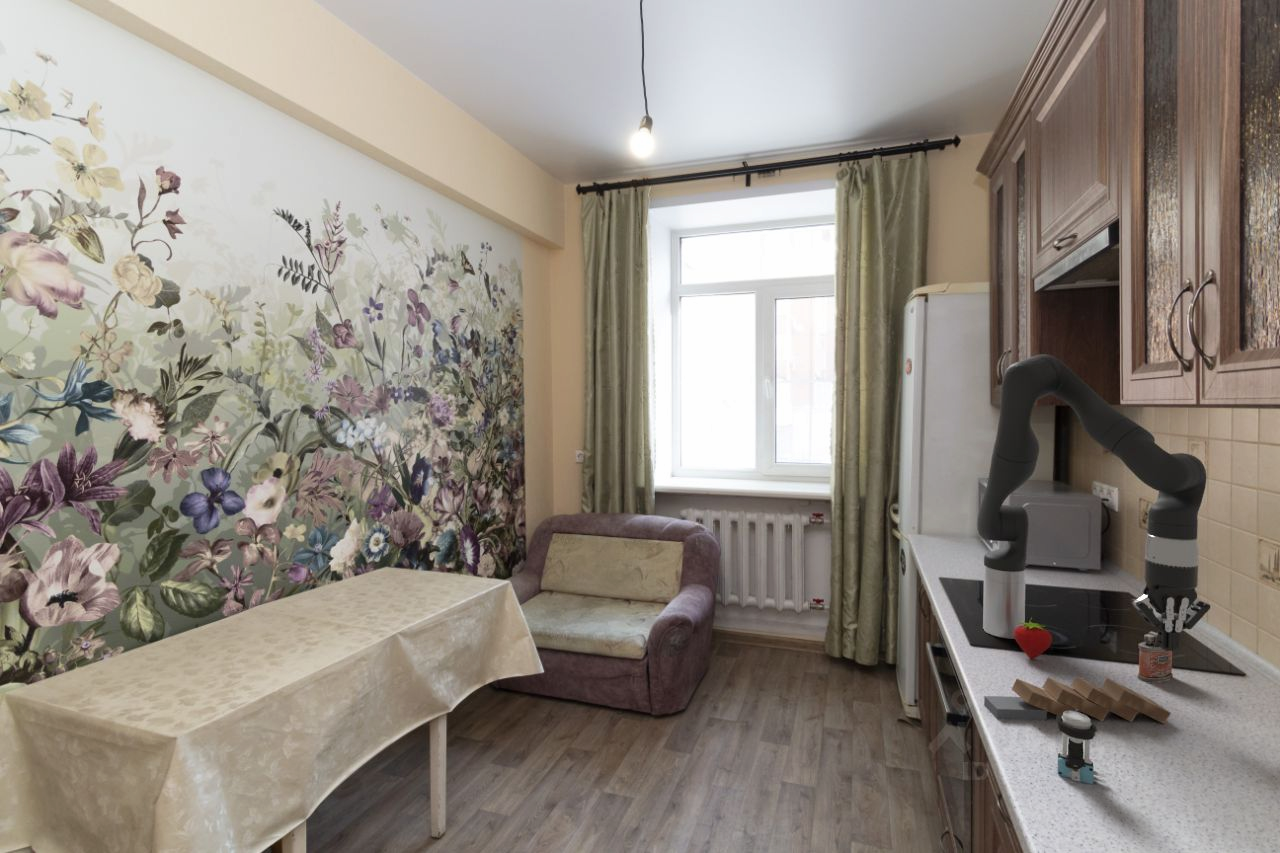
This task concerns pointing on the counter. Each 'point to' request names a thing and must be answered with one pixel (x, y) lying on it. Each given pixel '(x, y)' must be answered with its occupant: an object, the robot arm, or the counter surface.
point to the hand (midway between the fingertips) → (1168, 649)
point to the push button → (1076, 747)
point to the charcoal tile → (1013, 708)
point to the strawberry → (1032, 639)
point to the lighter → (1154, 660)
